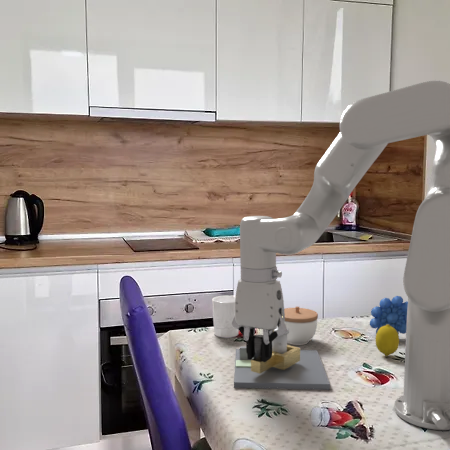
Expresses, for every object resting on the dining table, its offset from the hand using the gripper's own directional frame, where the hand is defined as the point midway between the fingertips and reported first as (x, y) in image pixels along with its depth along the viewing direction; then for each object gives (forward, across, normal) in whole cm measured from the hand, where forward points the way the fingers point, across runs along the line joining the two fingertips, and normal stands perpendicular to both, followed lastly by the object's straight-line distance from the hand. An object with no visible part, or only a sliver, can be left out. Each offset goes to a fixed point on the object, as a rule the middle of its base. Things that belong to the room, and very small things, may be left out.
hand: (259, 357), depth 111 cm
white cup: (+5, +23, -24) cm, 33 cm away
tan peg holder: (+3, 0, -5) cm, 6 cm away
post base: (+5, -1, -8) cm, 10 cm away
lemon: (+6, -20, -30) cm, 36 cm away
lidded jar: (+5, +4, -28) cm, 29 cm away
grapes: (+6, -17, -44) cm, 48 cm away
